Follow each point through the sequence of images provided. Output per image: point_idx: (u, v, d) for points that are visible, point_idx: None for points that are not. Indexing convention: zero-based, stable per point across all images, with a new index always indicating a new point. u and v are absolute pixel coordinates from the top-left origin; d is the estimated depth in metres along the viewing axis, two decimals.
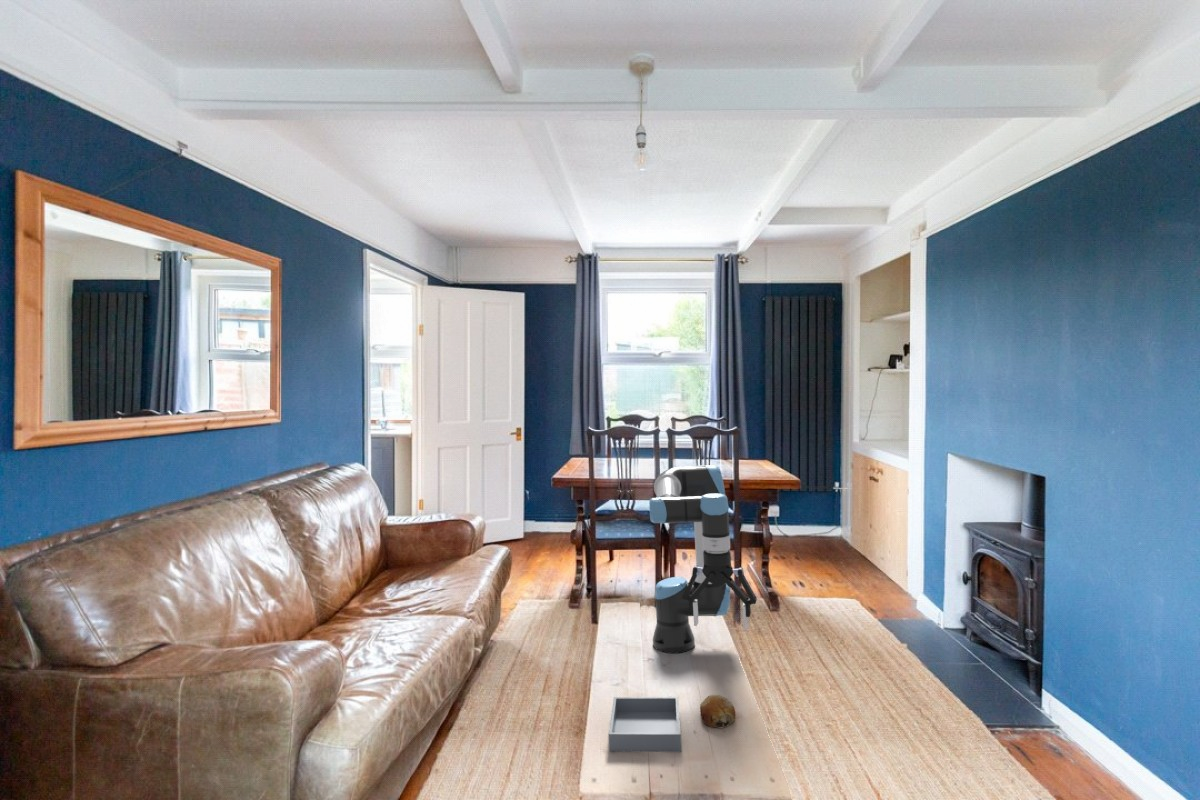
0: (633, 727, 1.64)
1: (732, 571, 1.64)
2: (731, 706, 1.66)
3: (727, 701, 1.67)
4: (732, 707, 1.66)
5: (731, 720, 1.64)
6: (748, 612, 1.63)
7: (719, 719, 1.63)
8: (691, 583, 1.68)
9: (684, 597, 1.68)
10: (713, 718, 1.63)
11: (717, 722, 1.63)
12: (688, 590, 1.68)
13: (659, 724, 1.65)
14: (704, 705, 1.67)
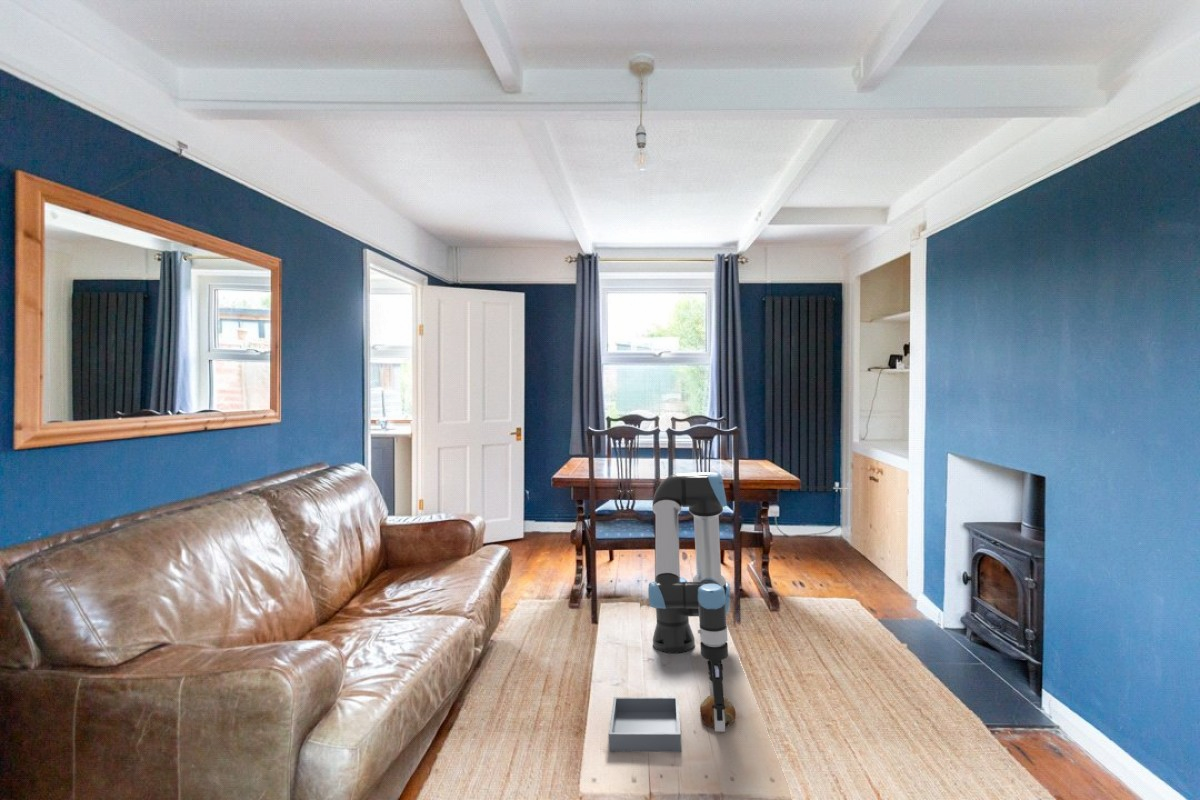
0: (633, 727, 1.64)
1: (713, 668, 1.63)
2: (731, 706, 1.66)
3: (727, 701, 1.67)
4: (732, 707, 1.66)
5: (731, 720, 1.64)
6: (717, 715, 1.60)
7: None
8: None
9: (708, 673, 1.77)
10: (713, 718, 1.63)
11: None
12: None
13: (659, 724, 1.65)
14: (704, 705, 1.67)
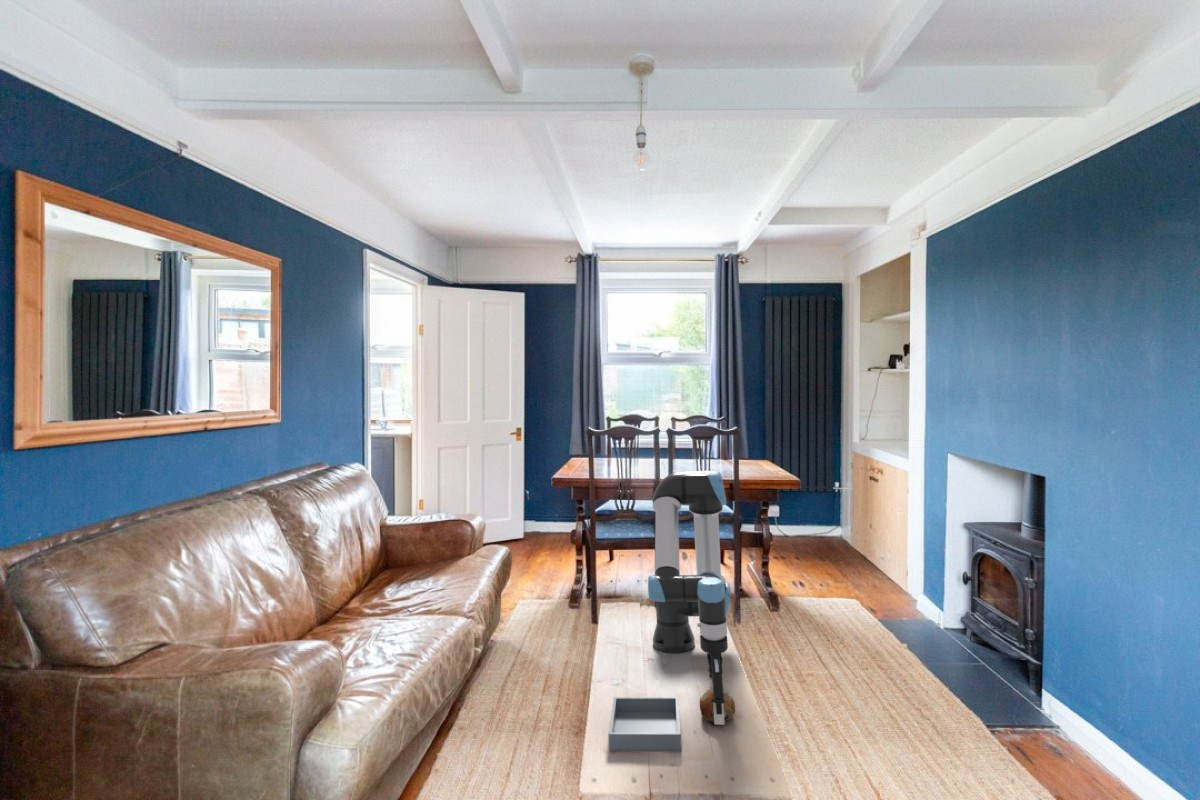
0: (633, 727, 1.64)
1: (713, 662, 1.63)
2: (731, 700, 1.66)
3: (727, 695, 1.67)
4: (732, 701, 1.66)
5: (731, 714, 1.65)
6: (716, 709, 1.61)
7: None
8: None
9: (708, 670, 1.76)
10: (713, 712, 1.63)
11: None
12: None
13: (659, 724, 1.65)
14: (704, 699, 1.67)
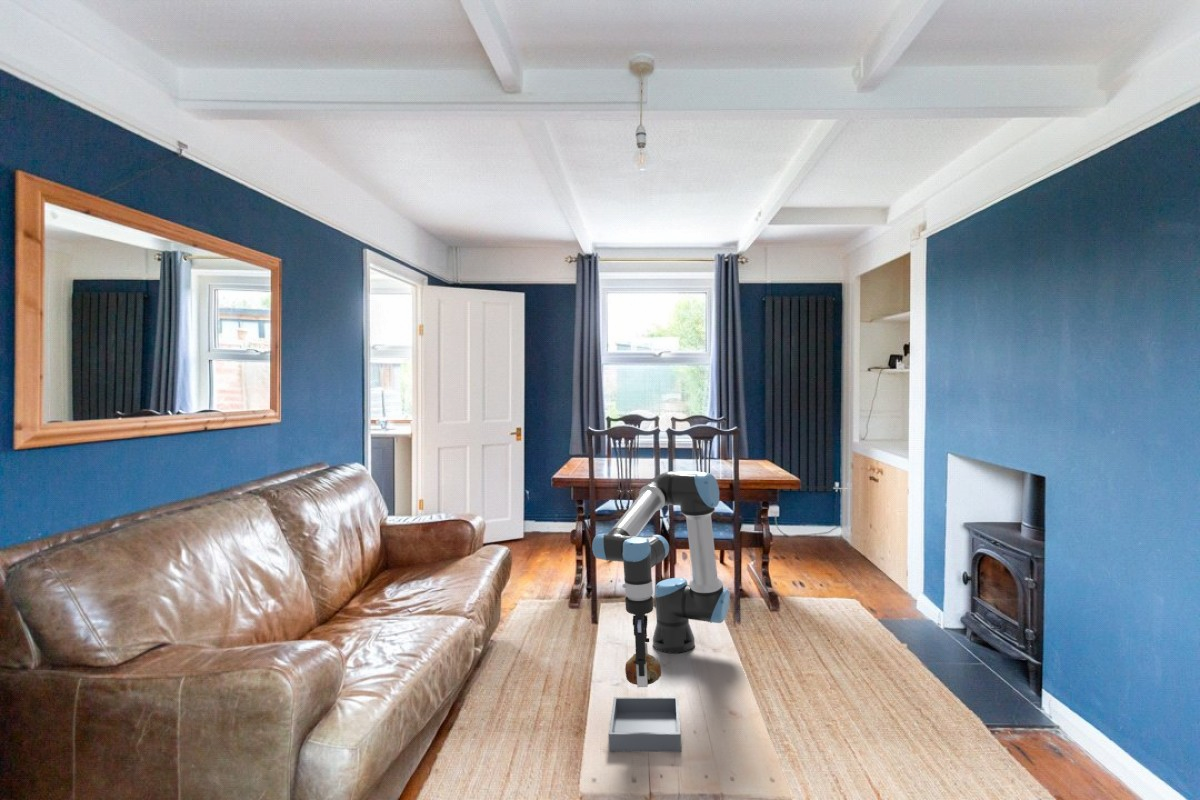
0: (633, 727, 1.64)
1: (636, 622, 1.59)
2: (656, 663, 1.62)
3: (652, 659, 1.63)
4: (657, 664, 1.62)
5: (655, 677, 1.60)
6: (639, 671, 1.57)
7: None
8: None
9: None
10: (636, 675, 1.59)
11: None
12: None
13: (659, 724, 1.65)
14: (629, 663, 1.63)
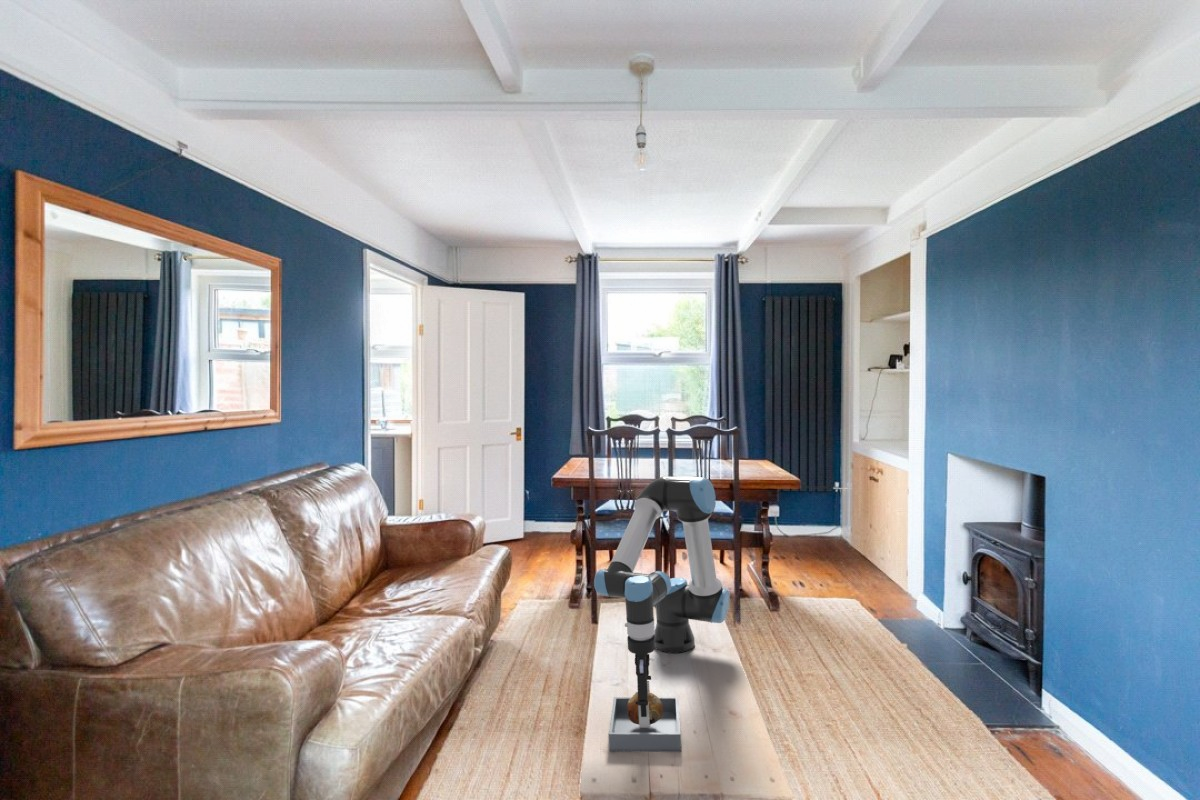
0: (633, 727, 1.64)
1: (639, 662, 1.59)
2: (658, 703, 1.62)
3: (654, 698, 1.63)
4: (659, 704, 1.62)
5: (657, 717, 1.60)
6: (641, 711, 1.57)
7: None
8: None
9: None
10: (638, 715, 1.59)
11: None
12: None
13: (659, 724, 1.65)
14: (631, 702, 1.63)
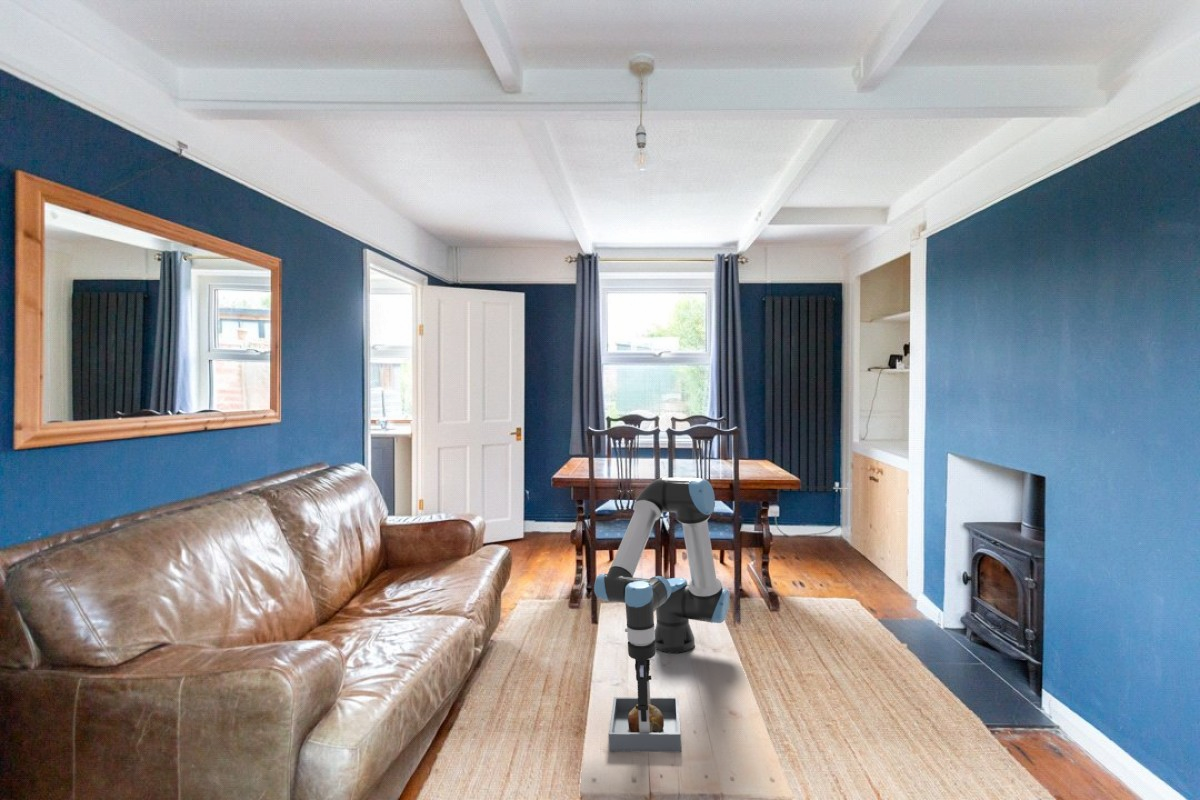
0: None
1: (639, 667, 1.59)
2: (659, 715, 1.62)
3: (655, 710, 1.63)
4: (660, 716, 1.62)
5: (658, 729, 1.60)
6: (641, 716, 1.56)
7: None
8: None
9: None
10: None
11: None
12: None
13: None
14: (631, 714, 1.63)
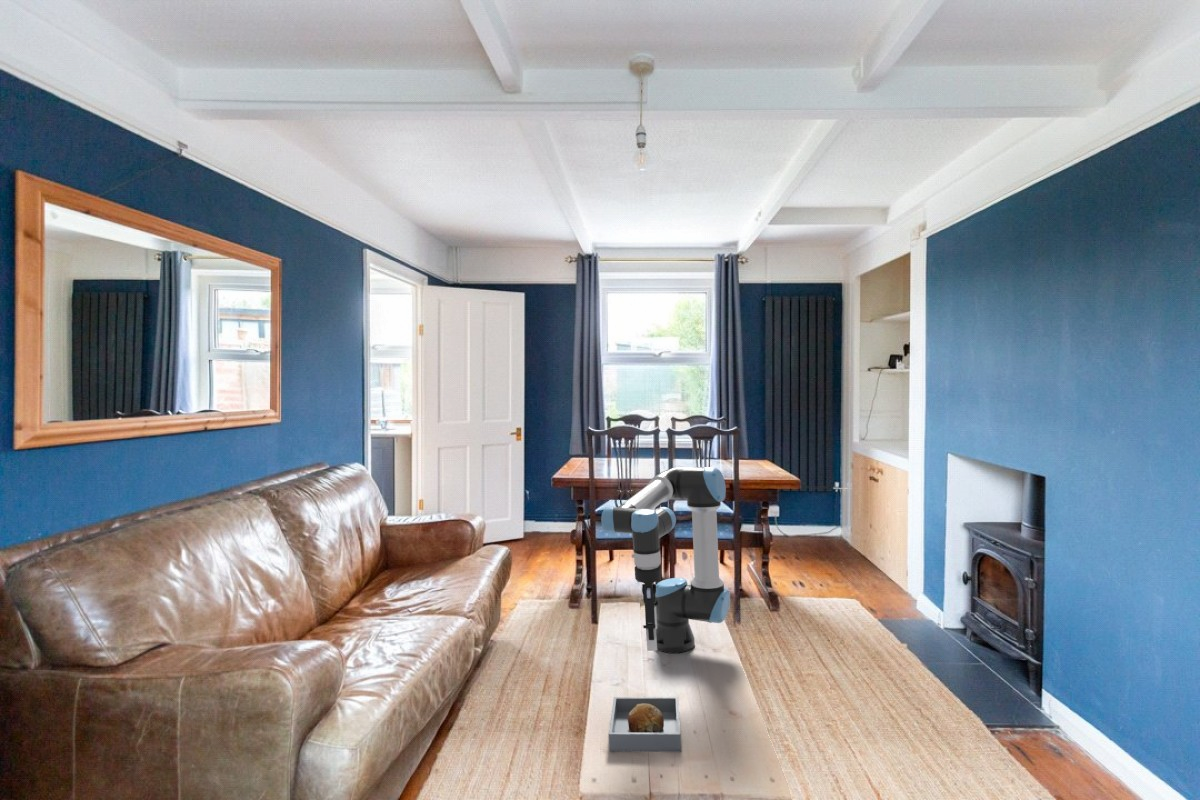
0: None
1: (646, 590, 1.65)
2: (659, 715, 1.62)
3: (655, 710, 1.63)
4: (660, 716, 1.62)
5: (658, 729, 1.60)
6: (648, 635, 1.62)
7: (645, 729, 1.59)
8: None
9: None
10: (639, 728, 1.59)
11: None
12: None
13: None
14: (632, 714, 1.63)
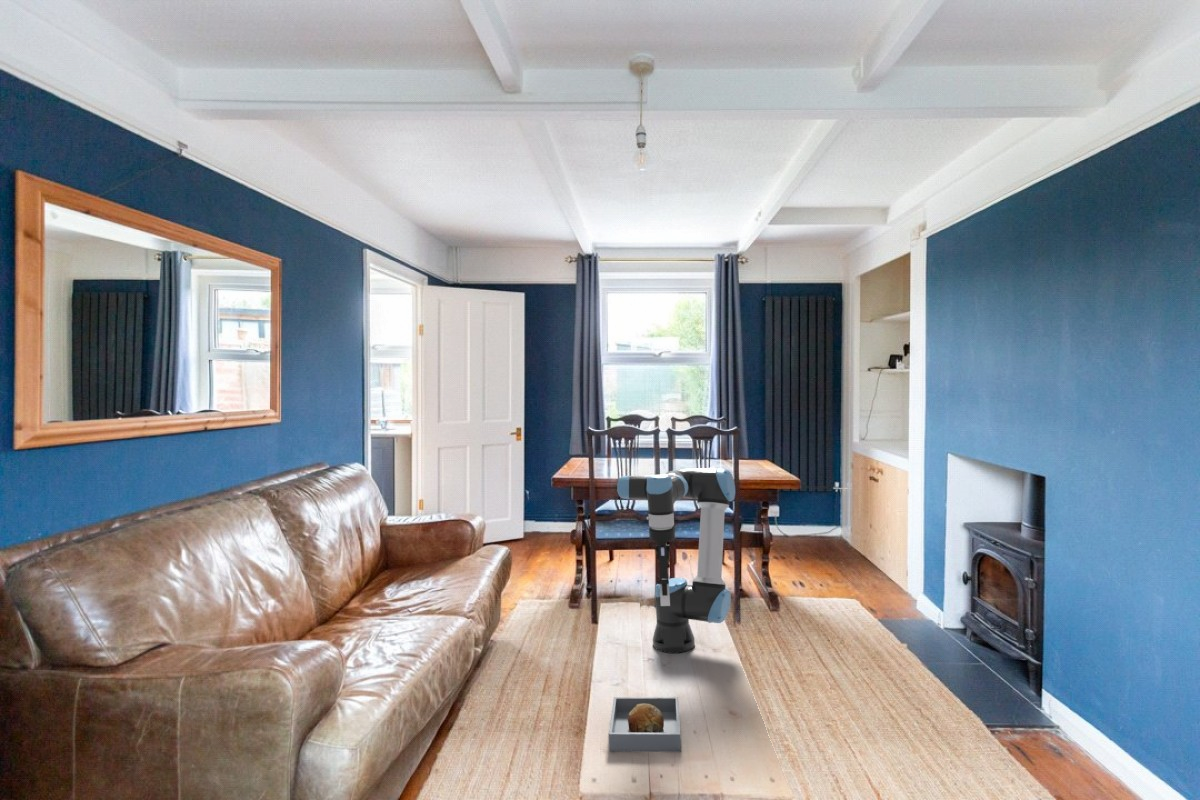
0: None
1: (660, 549, 1.75)
2: (659, 715, 1.62)
3: (655, 710, 1.63)
4: (660, 716, 1.62)
5: (658, 730, 1.60)
6: (662, 591, 1.71)
7: (645, 729, 1.59)
8: None
9: None
10: (639, 728, 1.59)
11: None
12: None
13: None
14: (632, 714, 1.63)
